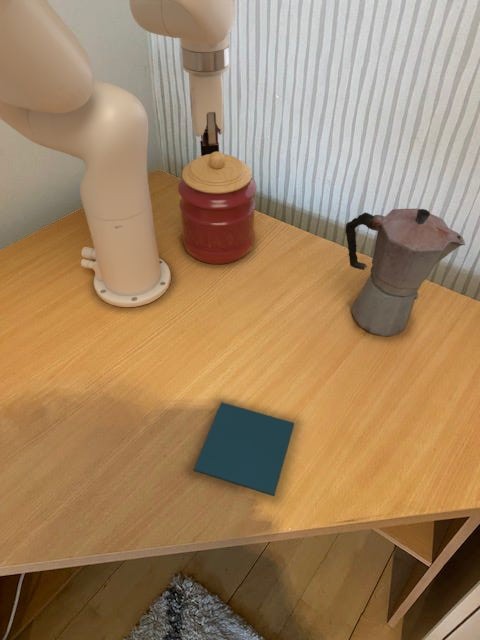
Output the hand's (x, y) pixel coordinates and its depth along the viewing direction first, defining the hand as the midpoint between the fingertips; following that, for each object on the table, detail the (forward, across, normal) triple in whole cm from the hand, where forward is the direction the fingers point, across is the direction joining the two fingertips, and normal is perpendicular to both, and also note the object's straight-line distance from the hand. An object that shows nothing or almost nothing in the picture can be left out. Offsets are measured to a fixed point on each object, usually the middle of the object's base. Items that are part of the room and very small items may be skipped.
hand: (210, 161), depth 89 cm
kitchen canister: (+9, +13, 0) cm, 16 cm away
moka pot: (+9, +35, +22) cm, 42 cm away
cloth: (+8, +54, -2) cm, 55 cm away
